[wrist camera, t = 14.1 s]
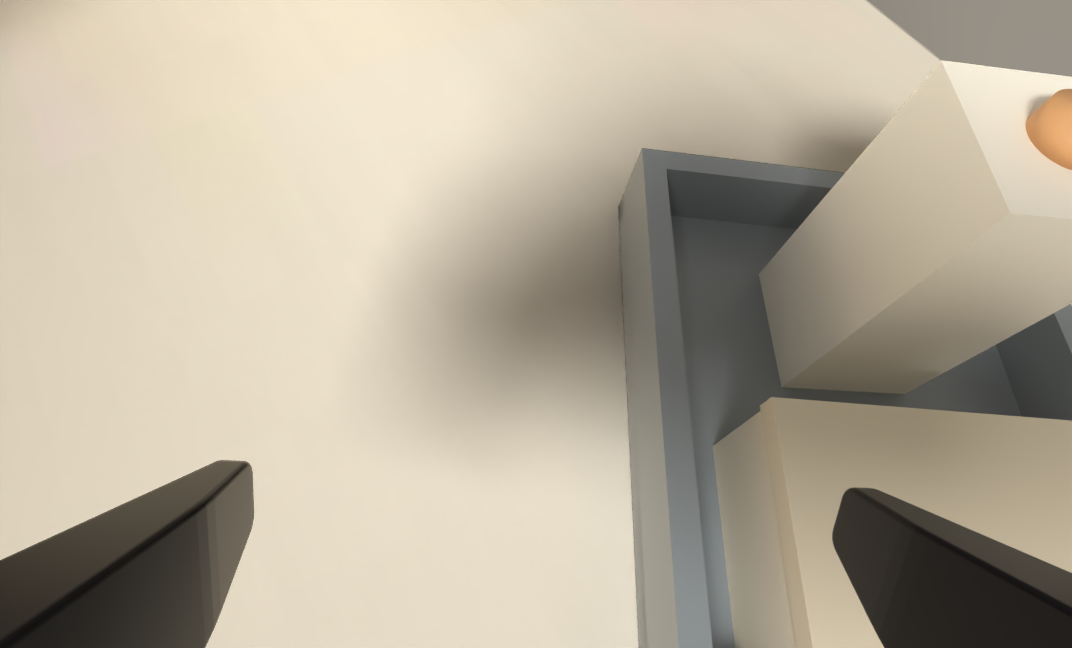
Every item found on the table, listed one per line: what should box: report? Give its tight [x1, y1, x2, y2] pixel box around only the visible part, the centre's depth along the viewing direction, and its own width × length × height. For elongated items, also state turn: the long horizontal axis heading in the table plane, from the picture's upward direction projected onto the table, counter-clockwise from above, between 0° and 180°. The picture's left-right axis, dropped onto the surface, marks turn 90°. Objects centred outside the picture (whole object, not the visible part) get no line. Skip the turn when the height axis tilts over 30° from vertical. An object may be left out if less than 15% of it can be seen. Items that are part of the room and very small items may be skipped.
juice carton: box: [759, 60, 1072, 394], centre depth 21 cm, size 6×6×12 cm
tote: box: [618, 148, 1072, 648], centre depth 24 cm, size 22×18×4 cm
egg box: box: [713, 397, 1072, 648], centre depth 20 cm, size 8×12×5 cm
